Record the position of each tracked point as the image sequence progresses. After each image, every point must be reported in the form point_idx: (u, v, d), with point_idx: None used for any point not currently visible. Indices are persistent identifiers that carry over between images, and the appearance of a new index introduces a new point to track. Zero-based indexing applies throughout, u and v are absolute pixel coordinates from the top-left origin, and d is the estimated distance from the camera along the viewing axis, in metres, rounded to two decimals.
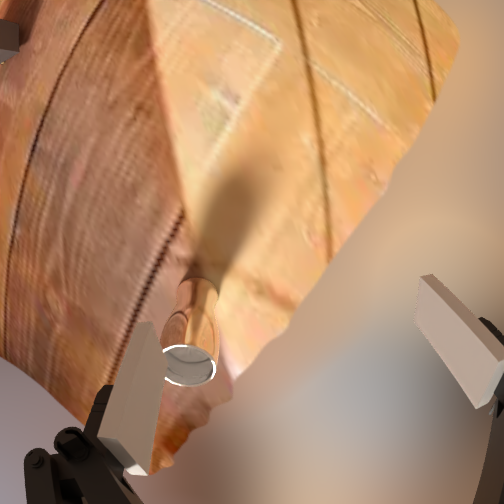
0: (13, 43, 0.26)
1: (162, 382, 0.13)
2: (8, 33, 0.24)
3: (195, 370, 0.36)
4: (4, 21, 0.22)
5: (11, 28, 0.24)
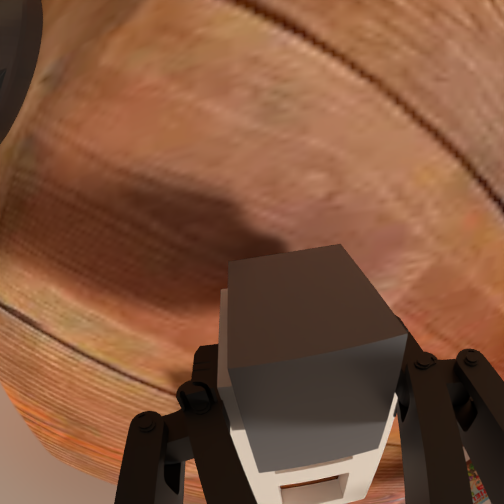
0: (323, 263, 0.12)
1: None
2: (289, 284, 0.11)
3: None
4: (235, 310, 0.10)
5: (259, 279, 0.12)
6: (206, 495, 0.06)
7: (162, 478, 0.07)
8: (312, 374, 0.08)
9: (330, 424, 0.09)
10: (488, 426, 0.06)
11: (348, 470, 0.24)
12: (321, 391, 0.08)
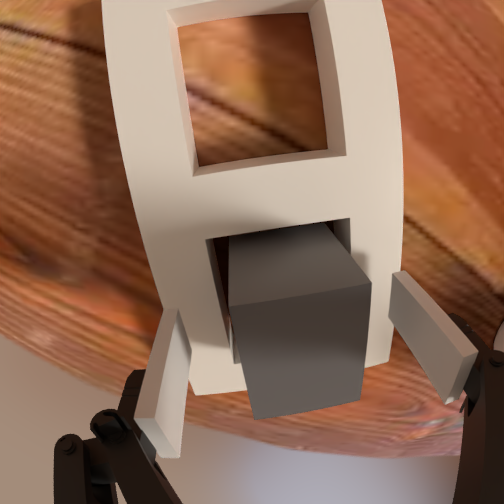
0: (307, 236, 0.15)
1: (188, 368, 0.14)
2: (278, 251, 0.14)
3: None
4: (235, 269, 0.13)
5: (254, 248, 0.15)
6: None
7: (91, 496, 0.06)
8: (295, 314, 0.11)
9: (313, 366, 0.12)
10: None
11: (346, 207, 0.15)
12: (303, 331, 0.11)
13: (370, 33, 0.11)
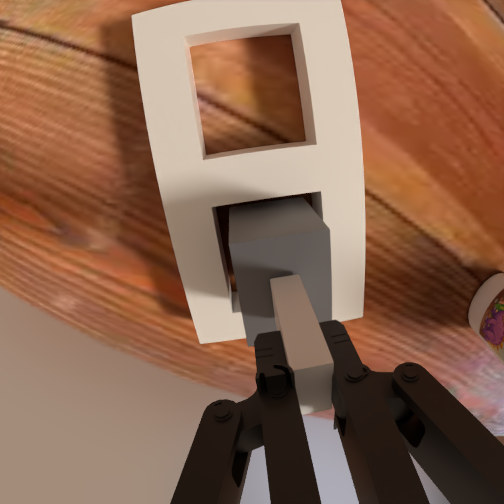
0: (288, 205, 0.20)
1: None
2: (266, 214, 0.19)
3: None
4: (233, 225, 0.18)
5: (248, 213, 0.19)
6: (270, 479, 0.07)
7: (229, 471, 0.07)
8: (275, 251, 0.16)
9: None
10: (440, 443, 0.07)
11: (318, 183, 0.19)
12: (282, 265, 0.16)
13: (335, 51, 0.16)
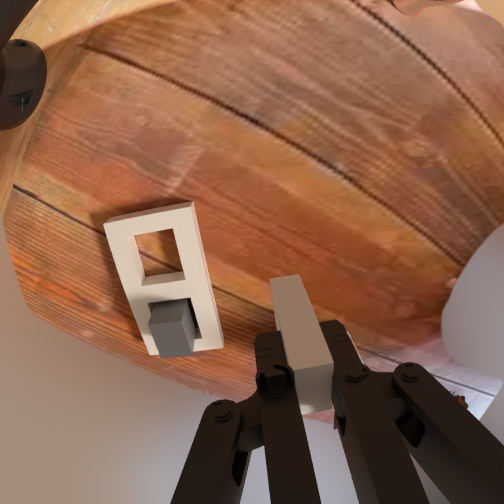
0: (177, 302, 0.47)
1: None
2: (166, 308, 0.46)
3: None
4: (153, 313, 0.45)
5: (161, 306, 0.46)
6: (270, 479, 0.07)
7: (230, 471, 0.07)
8: (163, 327, 0.43)
9: (172, 341, 0.44)
10: (439, 443, 0.07)
11: (188, 294, 0.46)
12: (166, 331, 0.43)
13: (190, 239, 0.43)
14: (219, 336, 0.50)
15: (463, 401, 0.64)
